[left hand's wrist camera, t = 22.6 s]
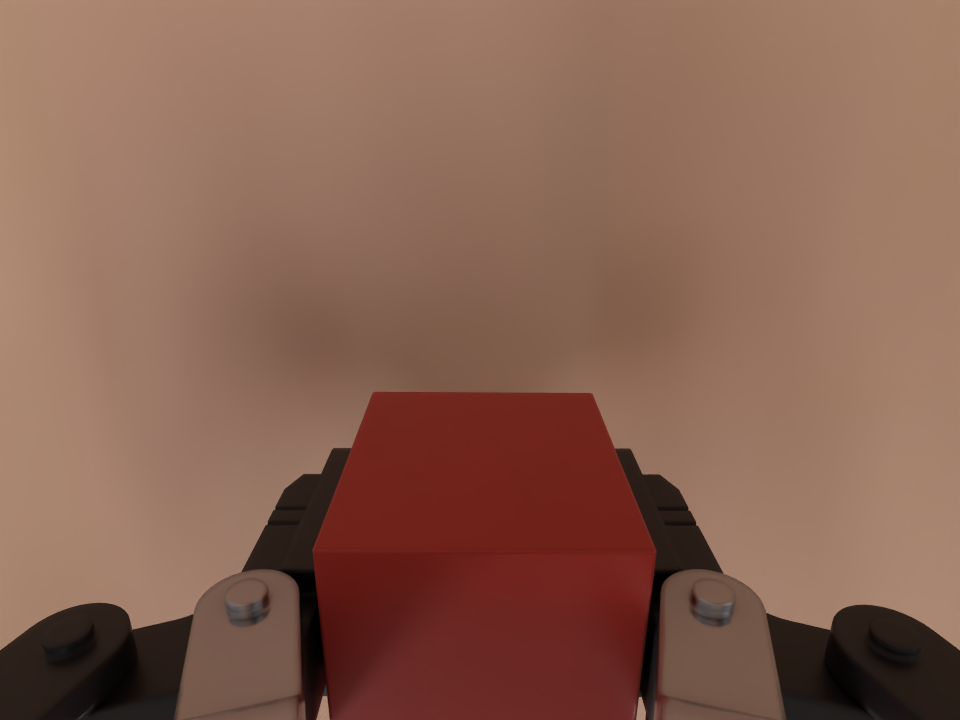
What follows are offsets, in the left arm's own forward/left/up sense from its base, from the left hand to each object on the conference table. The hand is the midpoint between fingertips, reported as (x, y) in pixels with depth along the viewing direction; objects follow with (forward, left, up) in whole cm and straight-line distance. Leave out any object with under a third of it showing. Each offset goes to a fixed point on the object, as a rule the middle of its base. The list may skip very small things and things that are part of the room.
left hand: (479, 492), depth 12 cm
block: (0, 0, 0) cm, 1 cm away
